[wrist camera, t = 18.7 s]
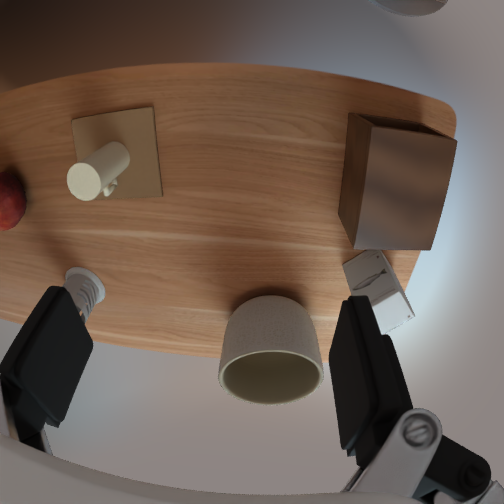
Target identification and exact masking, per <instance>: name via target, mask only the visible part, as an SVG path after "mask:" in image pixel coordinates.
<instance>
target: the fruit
mask: <svg viewBox="0 0 504 504" xmlns="http://www.w3.org/2000/svg"><path fill="white" fill-rule="evenodd" d="M26 204H27V200H26V195H25V191H24V189H23V187H22V185H21V183H20V182H19V181H18V179H17V178H16V177H15V176H14V175H12V174H10V173H7V172H1V173H0V231H5V230H9V229H11V228H13V227H15V226H16V225H17V224H18V222H19V221H20V219H21V218H22V216H23V214H24V212H25V209H26Z"/></svg>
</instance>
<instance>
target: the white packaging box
mask: <svg viewBox="0 0 504 504" xmlns="http://www.w3.org/2000/svg"><path fill="white" fill-rule="evenodd" d="M342 266H343V270H344V273H345V276H346V279H347V282H348V285H349V288H350V291H351V295H352V296H360V295H367V296H368V298H369V300H370V303H371V306H372V309H373V311H374V314H375V317H376V320H377V323H378V326H379V329H380V332H381V335H383V334H385V333H387V332H389V331H390V330H392V329H394V328H396V327H398V326H399V325H401V324H403V323H404V322H406V321H408V320H410V319H411V318H413V317H414V316H415V314H414V312H413V311H412V308H411V306H410V304H409V301H408V299H407V297H406V295H405V293H404V291H403V289H402V287H401V285H400V283H399V281H398V279H397V277H396V275H395V273H394V271H393V269H392V267H391V265H390V264H389V262H388V260H387V259H386V257H385V255H384V254H383V252H382V251H381V250H369V249H367V250H366V251H364V252H363V253H361V254H360V255H358V256H356V257H355V258H353V259H352V260H350V261H348V262H346V263H345V264H343V265H342Z"/></svg>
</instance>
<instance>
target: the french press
mask: <svg viewBox="0 0 504 504" xmlns="http://www.w3.org/2000/svg"><path fill="white" fill-rule="evenodd" d="M65 278H66V283H64V285H65V286H64V285H63V286H62V287H65V288H66V289H67V291H68V292H70V294H71V296H72V299H73V301H74V303H75V305H76V308H77V310H78V312H79V313H80V311H81V310H82V312H83V313H82V315H81V318H82V320H83V323H84V324H85V323H86V321H87V318H88V317H89V315H90V313H91V311H92V309H93V307H94V305H95V304H96V303H99V302H101V301H102V300H103V299H104V297H105V288H104V286H103V284H102V282H101V281H100V279H99V278H98V277H97V276H96V275H95V274H93V273H92V272H91V271H89V270H87V269H84V268H81V267H72V268H71V269H69V270H68V271H67V273H66V275H65ZM85 303H88V304H87V306H86V304H85Z"/></svg>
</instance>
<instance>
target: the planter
mask: <svg viewBox="0 0 504 504" xmlns="http://www.w3.org/2000/svg"><path fill="white" fill-rule="evenodd" d="M323 377H324V372H323V365H322V359H321V354H320V349H319V343H318V339H317V334H316V330H315V327H314V324H313V321H312V319H311V317H310V315H309V314H308V312H307V311H306V310H305V309H304V308H303V307H302V306H301V305H300V304H299V303H297V302H295V301H294V300H291V299H289V298H286V297H282V296H276V295H266V296H260V297H256V298H253V299H250V300H248V301H246V302H245V303H243V304H242V305H240V306H239V307H238V308H237V309H236V310H235V311H234V313H233V314H232V316H231V317H230V319H229V321H228V324H227V327H226V331H225V335H224V341H223V346H222V353H221V360H220V366H219V374H218V379H219V383H220V385H221V387H222V388H223V389H224V390H225V391H226V392H227V393H228V394H229V395H231V396H233V397H234V398H236V399H239V400H241V401H244V402H248V403H252V404H258V405H280V404H287V403H291V402H295V401H298V400H300V399H303V398H305V397H307V396H309V395H310V394H312V393H313V392H314V391H315V390H317V388H318V387H319V386H320V385H321V383H322V381H323Z"/></svg>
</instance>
